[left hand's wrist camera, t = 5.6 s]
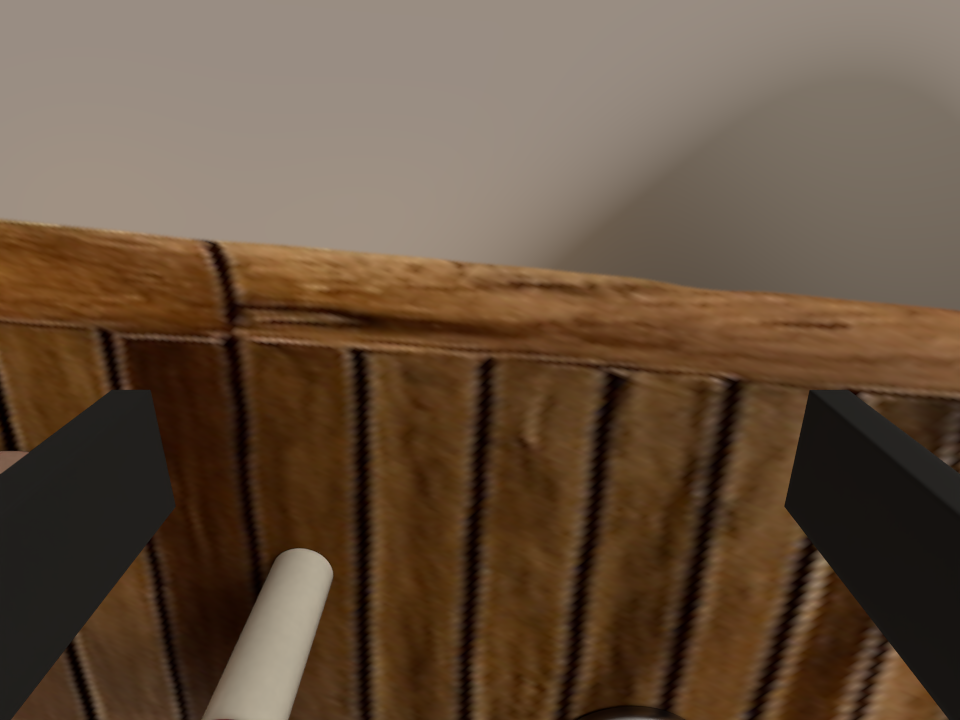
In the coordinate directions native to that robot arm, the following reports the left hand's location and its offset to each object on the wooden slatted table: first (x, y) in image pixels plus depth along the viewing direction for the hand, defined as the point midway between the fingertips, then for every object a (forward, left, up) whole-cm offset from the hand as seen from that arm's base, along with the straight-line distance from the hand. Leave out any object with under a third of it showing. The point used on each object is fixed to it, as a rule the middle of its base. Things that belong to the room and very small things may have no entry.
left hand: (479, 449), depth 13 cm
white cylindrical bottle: (-27, +14, -28) cm, 42 cm away
